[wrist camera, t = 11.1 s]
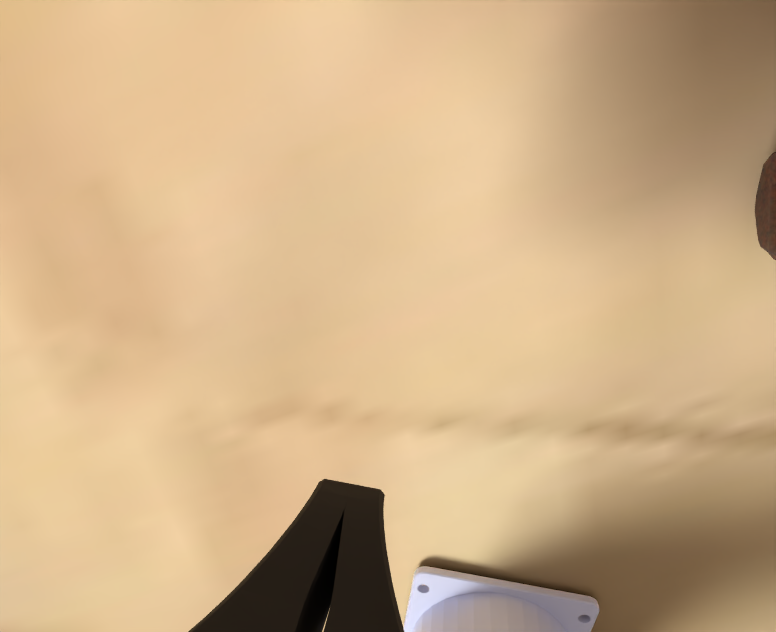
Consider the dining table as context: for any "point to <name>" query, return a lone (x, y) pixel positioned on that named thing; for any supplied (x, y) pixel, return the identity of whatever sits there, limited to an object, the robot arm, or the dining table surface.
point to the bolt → (767, 207)
